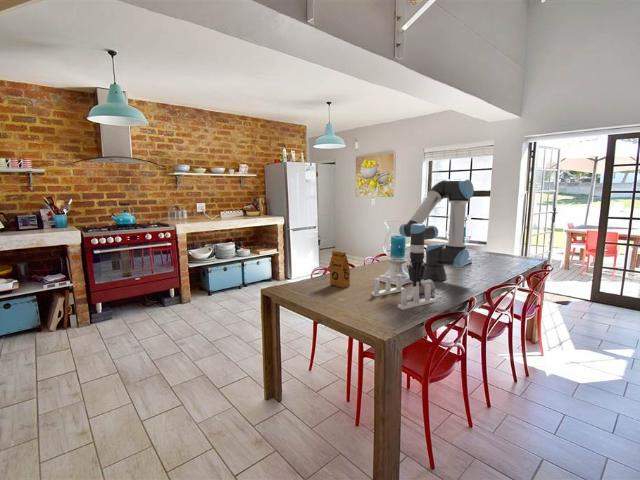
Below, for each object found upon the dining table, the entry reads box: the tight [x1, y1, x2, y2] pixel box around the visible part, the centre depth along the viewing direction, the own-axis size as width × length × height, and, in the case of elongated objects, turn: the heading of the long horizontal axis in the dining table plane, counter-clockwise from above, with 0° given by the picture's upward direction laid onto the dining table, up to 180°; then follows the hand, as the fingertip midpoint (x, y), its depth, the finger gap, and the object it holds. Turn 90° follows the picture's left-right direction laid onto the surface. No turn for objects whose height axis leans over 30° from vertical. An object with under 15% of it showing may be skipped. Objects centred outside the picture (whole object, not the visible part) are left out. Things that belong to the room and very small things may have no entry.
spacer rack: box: [371, 274, 435, 310], centre depth 179 cm, size 21×27×10 cm
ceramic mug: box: [419, 279, 436, 298], centre depth 185 cm, size 11×8×8 cm
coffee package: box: [329, 250, 351, 289], centre depth 205 cm, size 10×12×22 cm
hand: (416, 292), depth 184 cm, fingers closed
